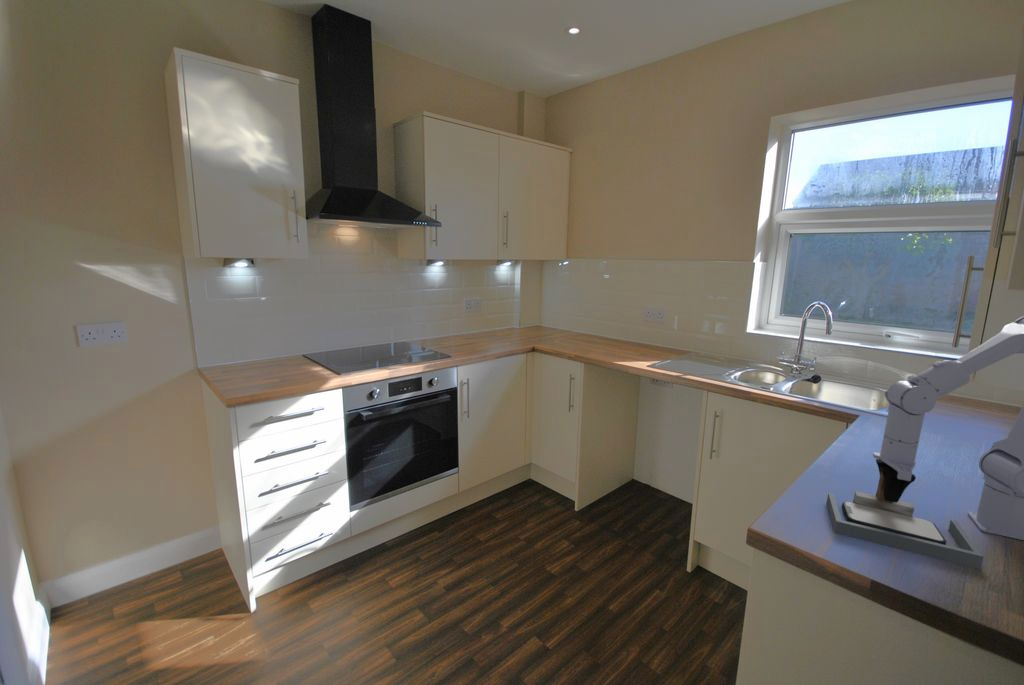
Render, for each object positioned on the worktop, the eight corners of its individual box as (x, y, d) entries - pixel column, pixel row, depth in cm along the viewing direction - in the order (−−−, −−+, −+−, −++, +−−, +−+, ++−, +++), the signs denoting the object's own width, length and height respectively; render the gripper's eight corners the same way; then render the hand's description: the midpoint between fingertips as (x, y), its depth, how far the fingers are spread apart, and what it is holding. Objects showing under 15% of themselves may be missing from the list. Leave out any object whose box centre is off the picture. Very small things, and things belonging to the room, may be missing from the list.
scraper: (908, 515, 101) (917, 477, 99) (911, 521, 99) (920, 483, 97) (852, 502, 106) (860, 466, 103) (854, 508, 104) (861, 471, 101)
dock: (954, 532, 96) (957, 521, 95) (980, 568, 84) (983, 556, 84) (826, 503, 105) (828, 492, 105) (834, 532, 94) (836, 521, 94)
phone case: (931, 527, 98) (840, 505, 105) (933, 520, 98) (841, 499, 105) (946, 551, 90) (847, 525, 97) (948, 543, 90) (848, 518, 97)
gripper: (870, 423, 107) (860, 479, 109) (885, 446, 94) (873, 507, 97) (909, 430, 103) (898, 486, 106) (930, 454, 91) (916, 517, 93)
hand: (888, 497), depth 101 cm, fingers closed on scraper, 3 cm apart
